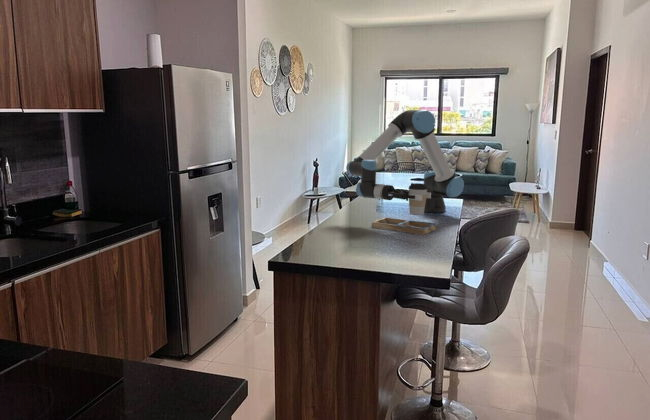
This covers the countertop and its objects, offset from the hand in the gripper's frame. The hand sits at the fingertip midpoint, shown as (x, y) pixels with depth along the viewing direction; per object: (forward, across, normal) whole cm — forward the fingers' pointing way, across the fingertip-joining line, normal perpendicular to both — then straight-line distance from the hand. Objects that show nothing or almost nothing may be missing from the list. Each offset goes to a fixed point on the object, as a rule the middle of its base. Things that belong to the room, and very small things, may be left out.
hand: (426, 196), depth 231 cm
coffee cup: (-5, 0, -9) cm, 10 cm away
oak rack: (-11, 0, -17) cm, 20 cm away
